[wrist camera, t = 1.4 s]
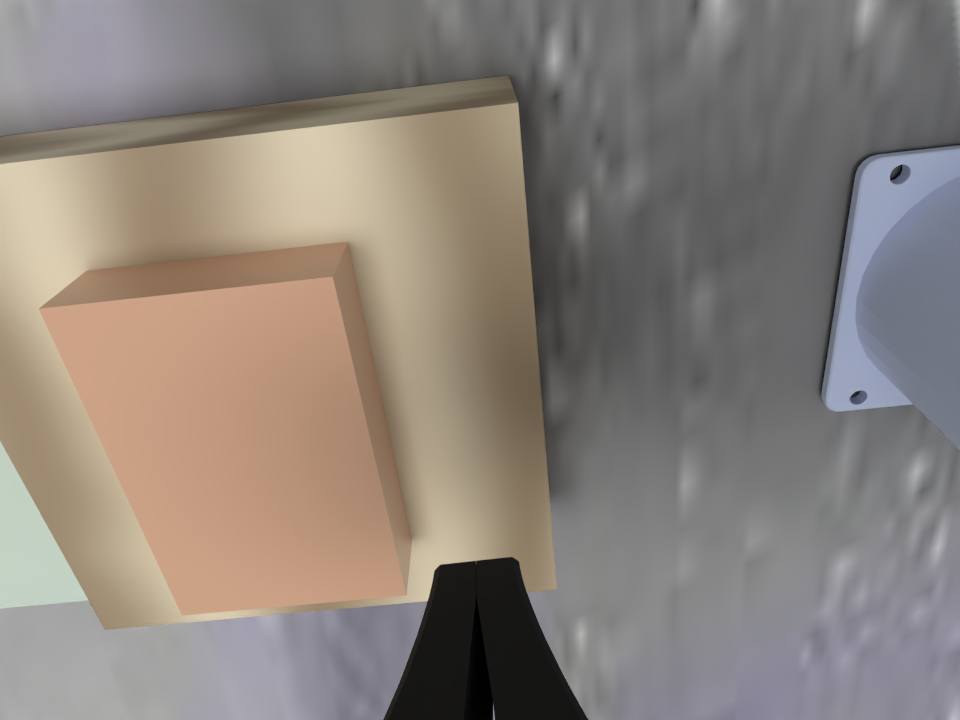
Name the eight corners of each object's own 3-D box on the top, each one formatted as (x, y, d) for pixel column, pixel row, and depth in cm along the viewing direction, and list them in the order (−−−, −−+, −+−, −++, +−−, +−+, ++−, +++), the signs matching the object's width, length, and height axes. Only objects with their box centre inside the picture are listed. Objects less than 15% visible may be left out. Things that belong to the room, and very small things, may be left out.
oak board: (508, 75, 18) (518, 103, 14) (544, 500, 24) (556, 589, 21) (-27, 139, 18) (-144, 181, 15) (155, 537, 25) (104, 629, 22)
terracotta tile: (348, 241, 15) (332, 276, 14) (412, 540, 20) (406, 595, 18) (86, 270, 16) (38, 308, 14) (206, 559, 20) (182, 615, 18)
